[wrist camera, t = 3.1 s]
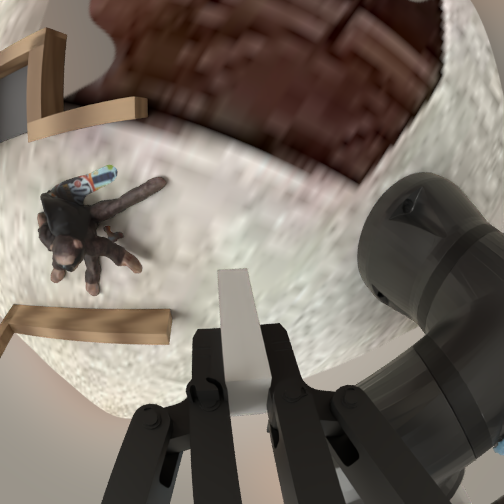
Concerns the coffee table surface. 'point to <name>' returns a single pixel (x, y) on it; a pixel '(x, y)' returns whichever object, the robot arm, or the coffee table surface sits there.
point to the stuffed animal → (87, 225)
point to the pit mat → (13, 104)
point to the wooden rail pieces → (52, 123)
